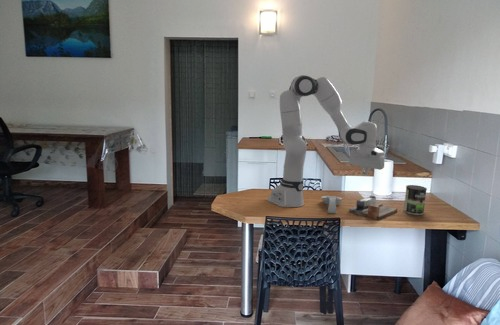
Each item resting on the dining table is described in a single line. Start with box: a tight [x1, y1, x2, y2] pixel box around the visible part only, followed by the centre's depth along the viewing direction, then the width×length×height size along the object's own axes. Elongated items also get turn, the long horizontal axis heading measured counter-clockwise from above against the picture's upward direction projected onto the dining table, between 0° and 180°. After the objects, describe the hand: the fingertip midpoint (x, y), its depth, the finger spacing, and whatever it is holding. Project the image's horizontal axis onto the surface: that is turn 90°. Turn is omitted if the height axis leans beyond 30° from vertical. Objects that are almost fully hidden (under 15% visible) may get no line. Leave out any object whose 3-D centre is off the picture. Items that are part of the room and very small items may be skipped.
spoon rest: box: [321, 195, 343, 214], centre depth 210 cm, size 24×12×7 cm, turn 170°
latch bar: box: [355, 195, 377, 208], centre depth 207 cm, size 16×4×4 cm, turn 134°
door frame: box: [348, 203, 398, 221], centre depth 204 cm, size 17×21×6 cm
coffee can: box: [403, 184, 427, 216], centre depth 205 cm, size 10×10×14 cm
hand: (365, 174), depth 212 cm, fingers closed
